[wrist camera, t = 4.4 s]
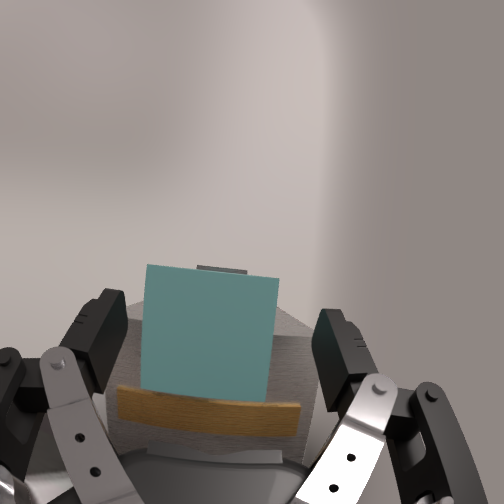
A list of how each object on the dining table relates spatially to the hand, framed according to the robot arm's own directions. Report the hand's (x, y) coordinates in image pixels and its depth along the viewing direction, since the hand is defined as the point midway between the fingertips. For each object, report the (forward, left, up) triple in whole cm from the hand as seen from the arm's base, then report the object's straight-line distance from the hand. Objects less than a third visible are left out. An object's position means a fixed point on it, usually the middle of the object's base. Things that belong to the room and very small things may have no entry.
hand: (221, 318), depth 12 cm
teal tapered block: (-6, +7, -2) cm, 10 cm away
